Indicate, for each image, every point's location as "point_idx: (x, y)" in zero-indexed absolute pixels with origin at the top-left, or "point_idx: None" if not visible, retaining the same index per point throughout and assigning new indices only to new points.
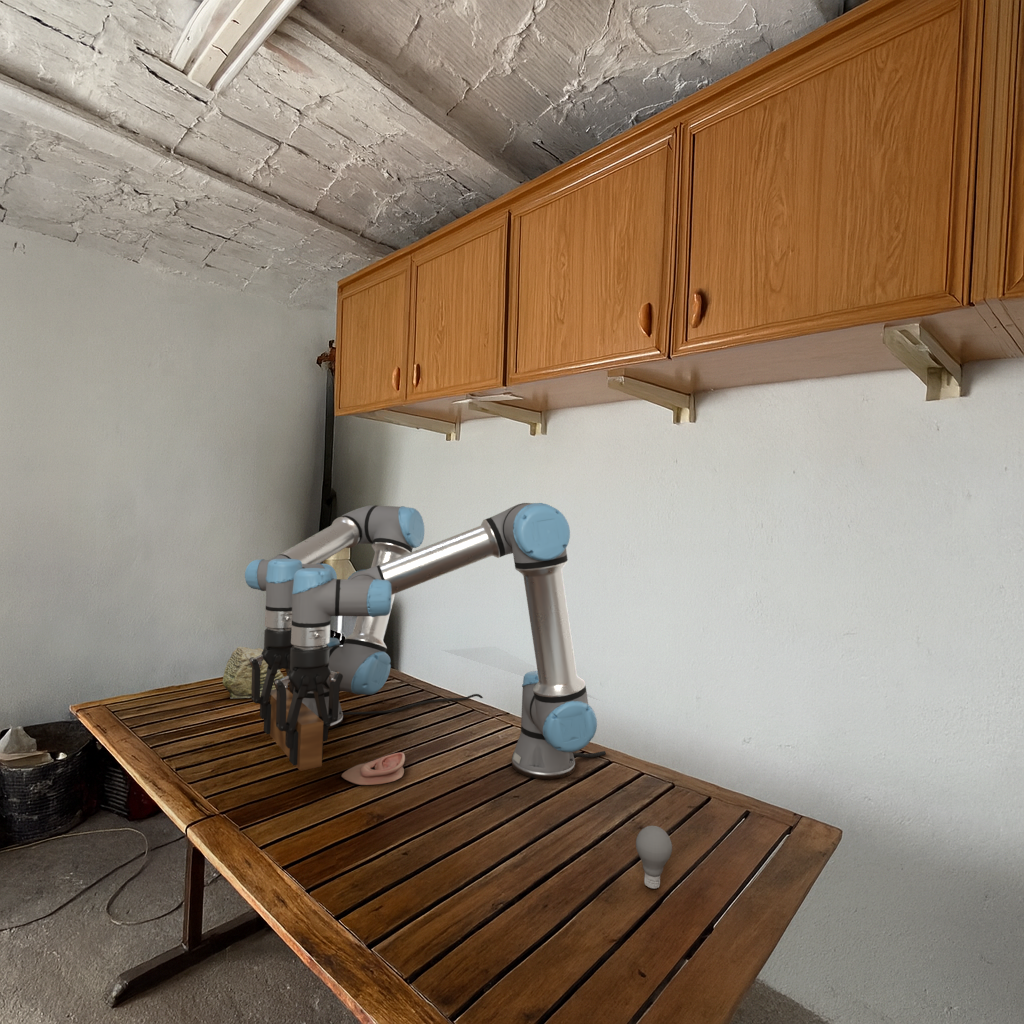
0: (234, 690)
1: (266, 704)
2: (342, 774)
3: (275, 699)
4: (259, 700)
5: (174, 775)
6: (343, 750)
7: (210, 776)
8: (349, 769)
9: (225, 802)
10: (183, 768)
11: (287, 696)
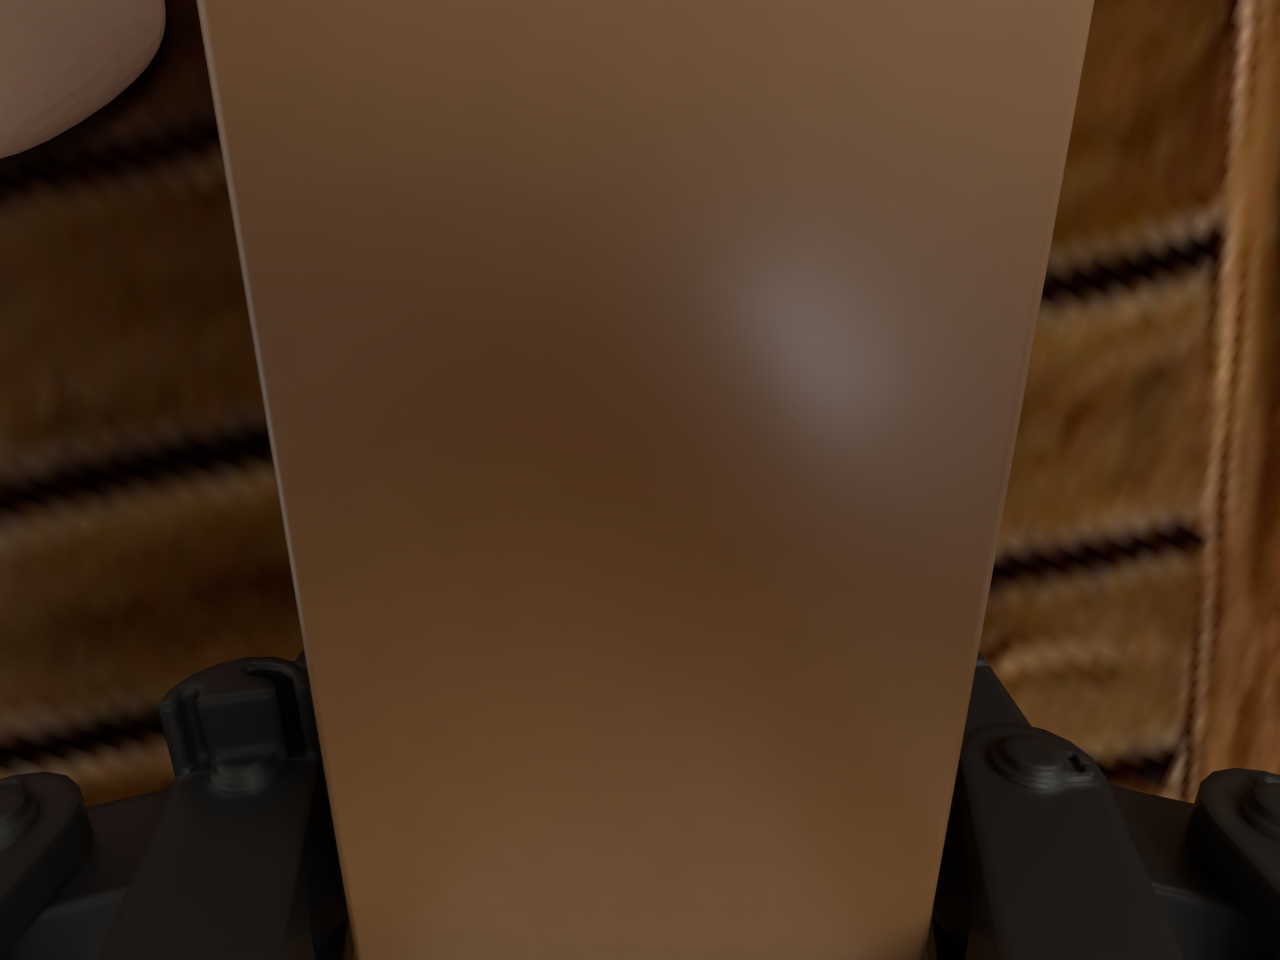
0: None
1: (982, 729)
2: (149, 22)
3: (998, 520)
4: (1221, 821)
5: (1216, 692)
6: (73, 551)
7: (1045, 574)
8: (62, 39)
9: (1141, 74)
10: (1130, 762)
11: (544, 621)
